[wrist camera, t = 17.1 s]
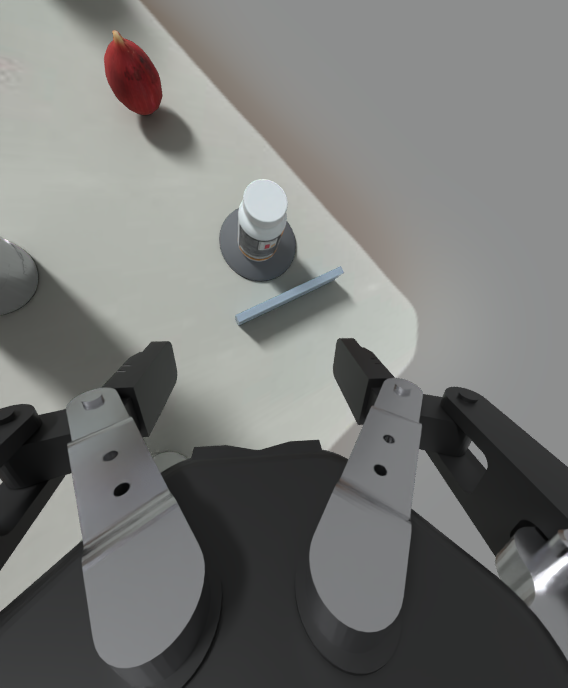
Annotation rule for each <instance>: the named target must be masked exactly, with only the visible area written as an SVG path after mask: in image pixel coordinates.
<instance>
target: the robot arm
mask: <svg viewBox="0 0 568 688" xmlns="http://www.w3.org/2000/svg"><path fill="white" fill-rule="evenodd" d="M37 285H38V272H37V268H36V265H35V263H34V261H33V260H32V258H31V257H30V255H29V254H28V253H27V252H26V251H25V250H23V249H22V248H21V247H19V246H17V245H16V244H14V243H12V242H10V241H8V240H6V239H4V238H2V237H0V315H2V314H7V313H10V312H12V311H15V310H17V309H19V308H20V307H22V306H23V305H25V304H26V303H27V302H28V301H29V300H30V299H31V297H32V296H33V294H34V293H35V290H36V288H37ZM333 373H334V377H335V379H336V381H337V383H338V385H339V387H340V389H341V391H342V393H343V395H344V397H345V399H346V401H347V403H348V405H349V407H350V409H351V412H352V414H353V416H354V418H355V420H356V422H357V424H358V425H363V427H362V429H361V432H360V434H359V436H358V439H357V441H356V444H355V446H354V448H353V450H352V453H351V455H350V458H349V460H348V459H347V458H345V457H343V456H341V455H339V454H336V453H333V452H330V451H326V450H322V448H321V445H320V441H319V440H307V441H290V442H286V443H283V444H279V445H276V446H272V447H269V448H265V449H262V450H252V449H246V448H240V447H234V446H227V445H223V446H206V447H194V450H193V454H192V457H191V458H190V459H186V460H184V461H181V462H179V463H177V464H175V465H173V466H171V467H169V468H167V469H166V470H164V471H162V472H161V473H160V471H159V470H158V468H157V466H156V464H155V462H154V460H153V458H152V456H151V454H150V452H149V450H148V448H147V446H146V444H145V442H144V440H143V438H142V437H149V435H150V433H151V431H152V429H153V427H154V425H155V423H156V421H157V419H158V417H159V415H160V413H161V411H162V409H163V407H164V405H165V404H166V402H167V400H168V398H169V396H170V394H171V392H172V390H173V388H174V386H175V384H176V381H177V368H176V363H175V358H174V353H173V348H172V344H171V343H170V342H169V341H162V342H151V343H150V344H149V345H148V346H147V347H146V348H145V350H144V351H143V352H139V353H137V354H135V355H134V356H132V357H130V358H129V359H128V360H127V361H126V362H125V363H124V364H123V366H121V367H120V368H119V370H118V372H116V373H115V374H114V375H113V376H112V377H111V378H110V379H109V380H108V381H107V382H106V383H105V385H104V386H103V387H102V388H97V389H93V390H89V391H87V392H84V393H82V394H80V395H78V396H76V397H75V398H74V399H72V400H71V401H70V402H69V403H68V405H67V407H66V409H64V410H60V411H55V412H51V413H46V414H42V415H38V414H37V412H36V410H35V408H34V407H33V406H32V405H29V404H19V405H13V406H9V407H5V408H2V409H0V479H1V480H2V481H3V482H2V484H1V485H0V570H1V569H2V567H3V566H4V564H5V563H6V561H7V560H8V559H9V557H10V556H11V554H12V553H13V551H14V550H15V548H16V547H17V545H18V544H19V543H20V541H21V540H22V538H23V537H24V535H25V534H26V532H27V531H28V529H29V528H30V526H31V525H32V524H33V522H34V521H35V519H36V518H37V516H38V515H39V513H40V512H41V510H42V509H43V508H44V506H45V505H46V503H47V502H48V500H49V499H50V497H51V496H52V494H53V493H54V491H55V490H56V489H57V487H58V486H59V484H60V483H61V481H62V480H63V478H64V477H65V475H67V474H70V473H72V478H73V484H74V490H75V496H76V502H77V508H78V514H79V520H80V527H81V533H82V539H83V540H82V541H81V542H80V543H79V544H77V545H76V546H75V547H74V548H73V549H72V550H71V551H69V552H68V553H67V554H66V555H65V556H64V557H63V558H61V559H60V560H59V561H58V562H57V563H56V564H55V565H53V566H52V567H51V568H50V569H49V570H48V571H47V572H45V573H44V574H43V575H42V576H41V577H40V578H39V579H37V580H36V581H35V582H34V583H33V584H32V585H31V586H29V587H28V588H27V589H26V590H25V591H24V592H23V593H21V594H20V595H19V596H18V597H17V598H16V599H15V600H13V601H12V602H11V603H10V604H9V605H8V606H7V607H5V608H4V609H3V610H2V611H1V612H0V688H568V467H567V466H566V465H565V464H563V463H562V462H561V461H560V460H559V459H557V458H556V457H555V456H554V455H553V454H551V453H550V452H549V451H548V450H547V449H545V448H544V447H543V446H542V445H541V444H539V443H538V442H537V441H536V440H535V439H533V438H532V437H531V436H530V435H529V434H527V433H526V432H525V431H524V430H522V429H521V428H520V427H519V426H518V425H516V424H515V423H514V422H513V421H512V420H511V419H509V418H508V417H507V416H506V415H505V414H503V413H502V412H501V411H500V410H499V409H497V408H496V407H495V406H494V405H492V404H491V403H490V402H489V401H488V400H487V399H485V398H484V397H483V396H481V395H480V394H478V393H476V392H474V391H471V390H468V389H465V388H461V387H449V388H447V389H446V390H445V392H444V395H443V397H438V396H432V395H425V394H423V392H422V390H421V389H420V388H419V387H418V386H417V385H416V384H414V383H412V382H410V381H408V380H405V379H400V378H395V377H394V376H393V375H392V374H391V373H390V372H389V371H388V369H387V368H386V367H385V366H384V365H383V364H382V363H381V362H380V360H379V359H378V358H377V357H376V356H375V355H374V354H373V352H371V351H369V350H367V349H366V348H362V347H361V346H360V345H359V344H358V343H357V341H356V340H355V339H354V338H339V339H338V340H337V343H336V350H335V357H334V364H333ZM471 441H473V442H474V443H475V444H476V446H477V447H478V448H479V449H480V450H481V451H482V452H483V453H484V455H485V457H486V459H487V462H488V468H487V470H486V469H485V468H484V467H483V465H482V464H481V463H480V462H479V461H478V460H477V459H476V457H475V456H474V455H473V454H472V453H471V451H470V450H469V449H468V446H469V445H470V443H471ZM419 449H421V450H425V451H426V453H427V454H428V456H429V457H430V459H431V460H432V462H433V463H434V465H435V466H436V467H437V469H438V471H439V472H440V474H441V475H442V477H443V478H444V480H445V481H446V483H447V484H448V486H449V487H450V489H451V490H452V492H453V493H454V495H455V496H456V498H457V499H458V501H459V502H460V504H461V505H462V507H463V508H464V510H465V511H466V513H467V514H468V516H469V517H470V519H471V520H472V522H473V523H474V525H475V526H476V528H477V530H478V531H479V532H480V534H481V535H482V537H483V538H484V540H485V542H486V543H487V545H488V546H489V548H490V549H491V551H492V552H493V554H494V555H495V557H496V560H495V564H496V569H497V572H498V575H499V577H500V579H499V578H498V577H497V576H496V575H494V574H493V573H491V571H489V570H488V569H487V568H485V567H484V566H483V565H482V564H480V563H479V562H478V561H477V560H475V559H474V558H473V557H472V556H470V555H469V554H468V553H467V552H465V551H464V550H463V549H462V548H460V547H459V546H458V545H457V544H455V543H454V542H453V541H452V540H450V539H449V538H448V537H446V536H445V535H444V534H443V533H442V532H440V531H439V530H438V529H436V528H435V527H434V526H433V525H431V524H430V523H429V522H428V521H426V520H425V519H424V518H423V517H421V516H420V515H419V514H417V513H416V512H415V511H414V510H412V509H411V506H412V498H413V490H414V483H415V475H416V467H417V459H418V452H419Z"/></svg>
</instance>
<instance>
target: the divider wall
mask: <svg viewBox="0 0 568 688" xmlns="http://www.w3.org/2000/svg"><path fill="white" fill-rule="evenodd" d="M343 273H344V272H343V270H342V268H341V266H340V267H338V268H336V269H334V270H331V271H329V272H327V273H325V274H323V275H321V276H318V277H316V278H314V279H312V280H310V281H308V282H306V283H303V284H301V285H299V286H297V287H295V288H293V289H291V290H288V291H286V292H284V293H282V294H280V295H278V296H275V297H273V298H271V299H269V300H267V301H265V302H263V303H260V304H258V305H256V306H254V307H252V308H250V309H248V310H245V311H243V312H241V313H239V314H237V315H236V316H235V320H236V322H237V324H238V326H239V325H241V324H243V323H245V322H248V321H250V320H252V319H254V318H256V317H258V316H260V315H262V314H264V313H266V312H269V311H271V310H273V309H275V308H277V307H279V306H281V305H283V304H285V303H287V302H290V301H292V300H294V299H296V298H298V297H300V296H302V295H304V294H306V293H308V292H311V291H313V290H315V289H317V288H319V287H321V286H323V285H325V284H327V283H329V282H331V281H333V280H335V279H336V278H337V277H339V276H340V275H341V274H343Z"/></svg>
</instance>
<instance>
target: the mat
mask: <svg viewBox="0 0 568 688" xmlns="http://www.w3.org/2000/svg"><path fill="white" fill-rule="evenodd" d="M238 210H239V208H238V209H236V210H235V211H233V212H232V213H231V214H230V215H229V216H228V217H227V218H226V219H225V221H224V222H223V225H222V227H221V230H220V237H219V240H220V249H221V252H222V255H223V257H224V259H225V261H226V262H227V264H228V265H229V266H230V267H231V268H232V269H233V270H234V271H235V272H236V273H237V274H239V275H241V276H243V277H245V278H247V279H250V280H255V281H267V280H271V279H274V278H276V277H278V276H280V275H281V274H283V273H284V272H285V271H286V270H287V269H288V267H289V266H290V264H291V263H292V261H293V258H294V255H295V249H296V242H295V237H294V233H293V231H292V228H291V227H290V225H289V223H288V222H287V221H286V226H285V229H284V231H283V234H282V236H281V239H280V242H279V245H278V247H277V250H276V252H275V253H274V255H273V256H272V257H271V258H269V259H268V260H265V261H253V260H250V259H249V258H247V257H246V256H245V255H244V254H243V253H242V252H241V250H240V248H239V245H238V237H237V236H238Z"/></svg>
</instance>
